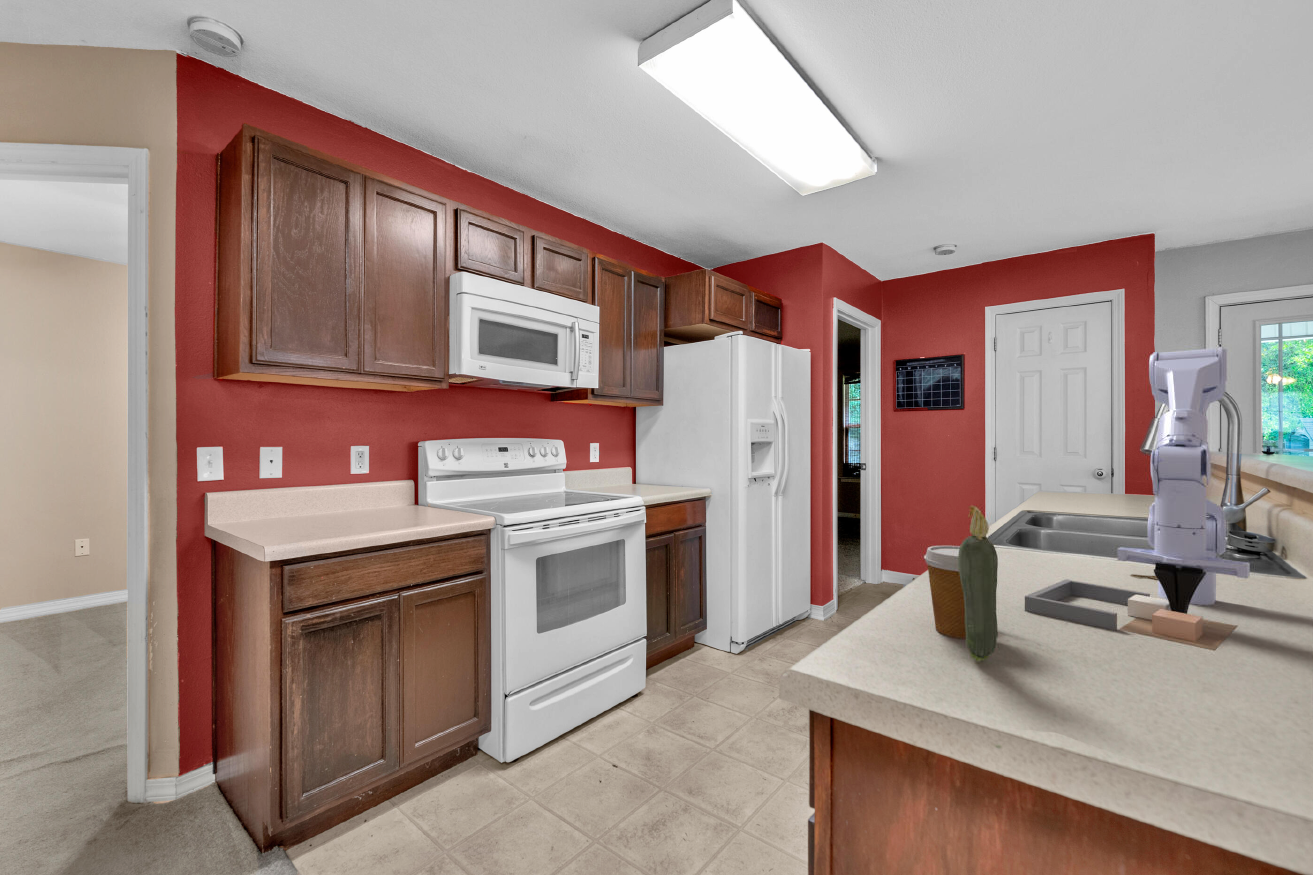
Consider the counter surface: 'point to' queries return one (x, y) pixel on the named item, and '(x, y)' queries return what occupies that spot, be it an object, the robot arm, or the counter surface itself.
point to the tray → (1050, 606)
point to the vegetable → (979, 587)
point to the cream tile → (1146, 606)
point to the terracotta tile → (1177, 624)
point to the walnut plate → (1209, 639)
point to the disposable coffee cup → (946, 590)
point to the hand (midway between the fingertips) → (1179, 616)
